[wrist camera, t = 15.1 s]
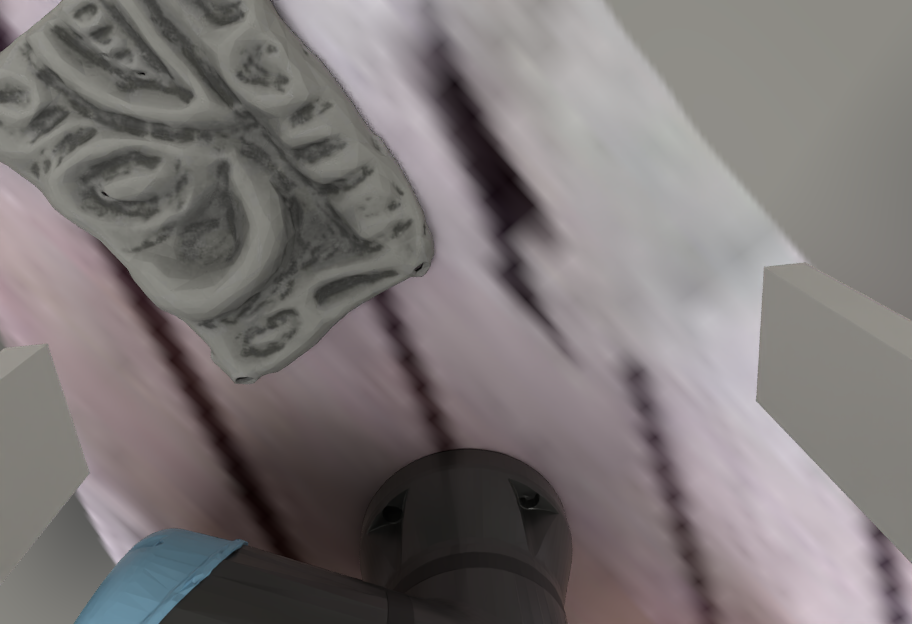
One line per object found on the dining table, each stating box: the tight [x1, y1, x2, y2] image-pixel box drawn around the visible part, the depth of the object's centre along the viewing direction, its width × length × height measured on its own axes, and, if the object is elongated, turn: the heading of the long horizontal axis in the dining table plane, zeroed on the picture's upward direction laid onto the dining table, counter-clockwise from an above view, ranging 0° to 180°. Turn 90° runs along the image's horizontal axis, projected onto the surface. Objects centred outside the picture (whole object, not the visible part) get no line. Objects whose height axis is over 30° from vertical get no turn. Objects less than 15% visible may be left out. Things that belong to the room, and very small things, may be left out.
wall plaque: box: [0, 0, 434, 384], centre depth 39 cm, size 23×19×4 cm
